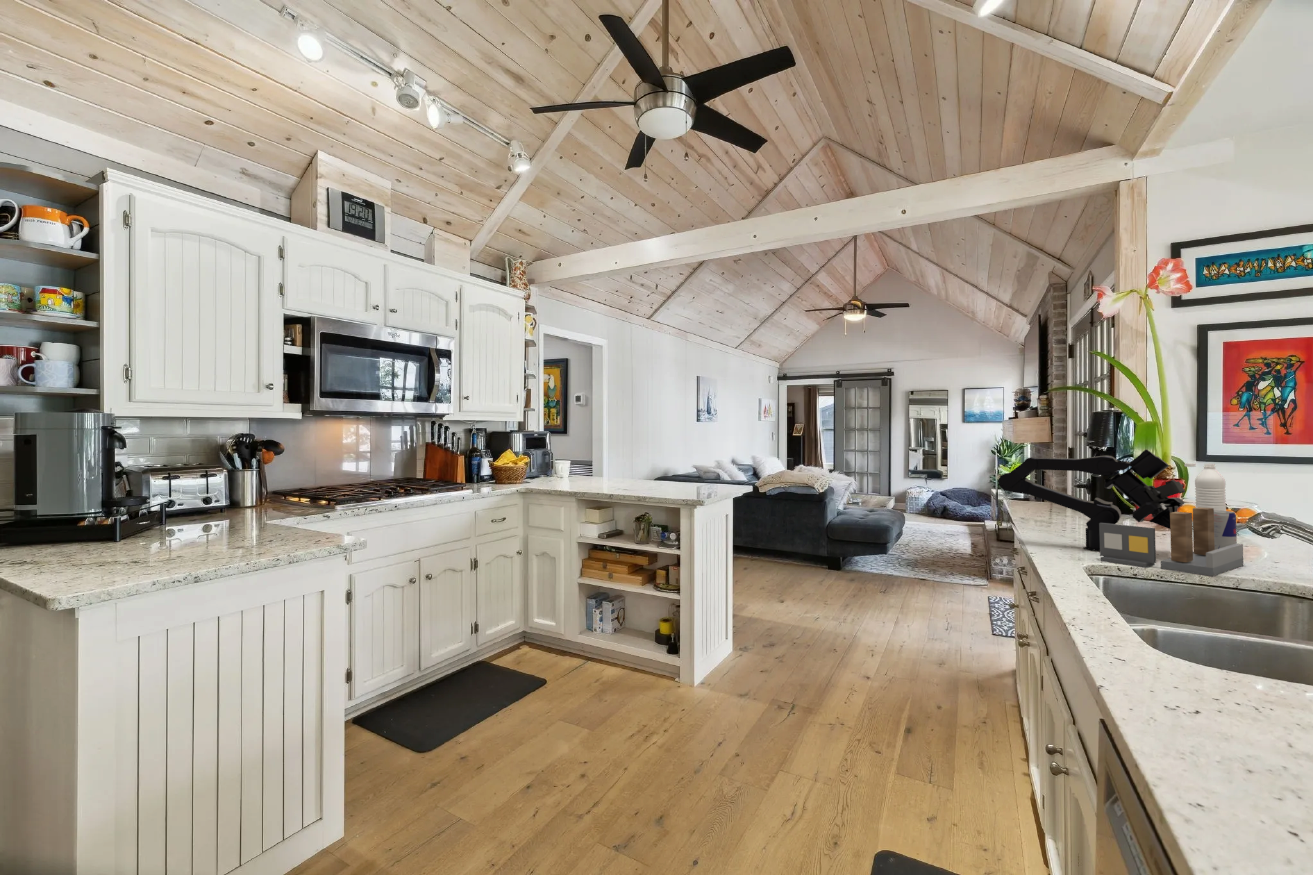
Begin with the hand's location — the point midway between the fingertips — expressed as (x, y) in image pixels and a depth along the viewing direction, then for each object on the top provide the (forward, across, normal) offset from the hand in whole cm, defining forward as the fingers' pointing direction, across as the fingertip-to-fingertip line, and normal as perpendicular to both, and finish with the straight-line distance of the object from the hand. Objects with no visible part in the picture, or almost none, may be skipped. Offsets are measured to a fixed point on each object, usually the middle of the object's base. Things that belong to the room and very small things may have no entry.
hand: (1186, 533), depth 156 cm
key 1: (+6, -14, +1) cm, 15 cm away
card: (0, -16, +10) cm, 19 cm away
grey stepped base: (+9, -7, +1) cm, 12 cm away
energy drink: (+7, +16, +3) cm, 18 cm away
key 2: (+6, 0, +1) cm, 6 cm away
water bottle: (+3, +24, +8) cm, 25 cm away
